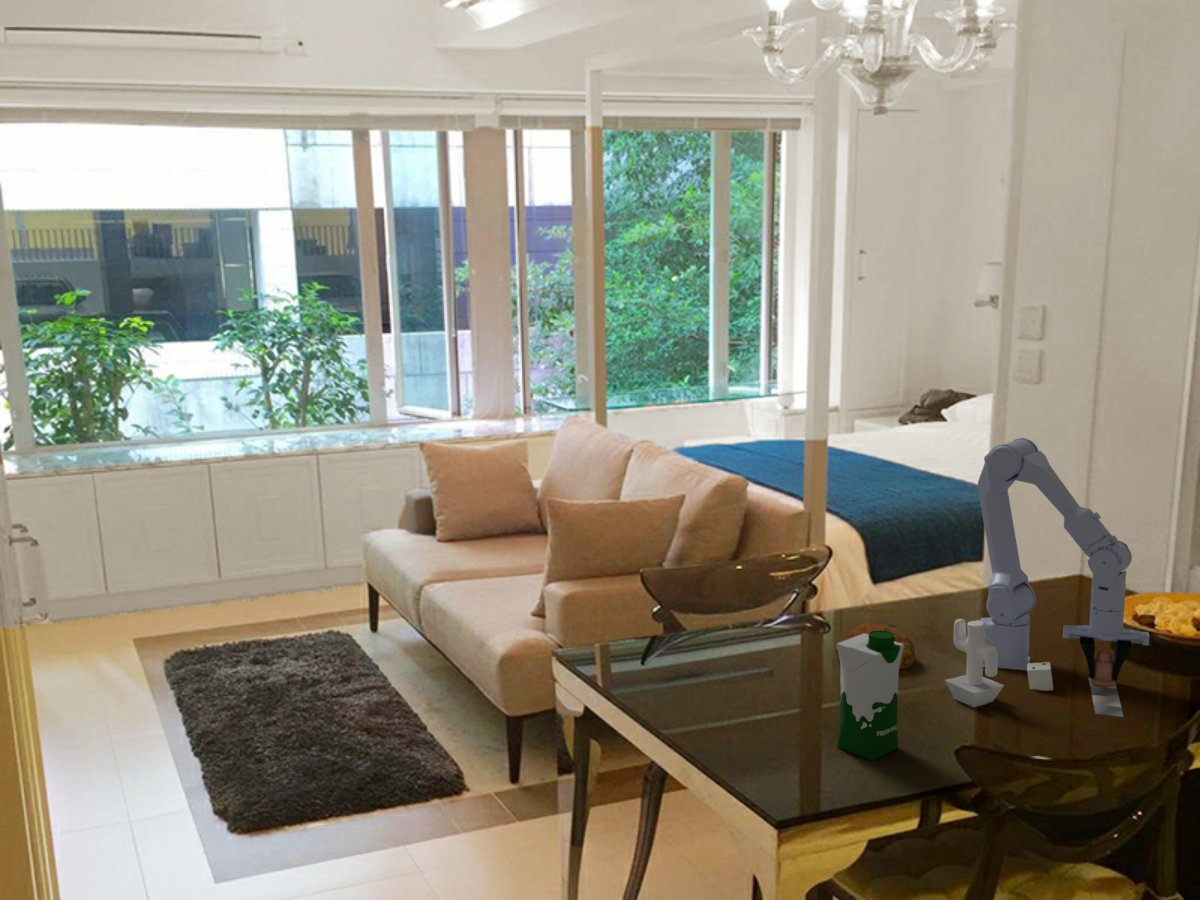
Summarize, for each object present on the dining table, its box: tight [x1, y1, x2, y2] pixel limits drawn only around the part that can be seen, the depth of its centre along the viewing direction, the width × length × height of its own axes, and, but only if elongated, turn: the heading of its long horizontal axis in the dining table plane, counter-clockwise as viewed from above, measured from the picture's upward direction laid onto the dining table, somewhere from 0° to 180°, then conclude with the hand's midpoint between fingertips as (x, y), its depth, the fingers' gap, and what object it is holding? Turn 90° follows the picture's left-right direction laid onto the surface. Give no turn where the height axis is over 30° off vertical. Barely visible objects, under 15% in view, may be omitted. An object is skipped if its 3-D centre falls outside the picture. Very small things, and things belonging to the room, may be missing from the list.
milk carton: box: [836, 630, 904, 761], centre depth 191 cm, size 9×9×20 cm
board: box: [1088, 677, 1124, 718], centre depth 213 cm, size 14×19×1 cm
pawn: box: [1089, 649, 1116, 687], centre depth 217 cm, size 4×4×6 cm
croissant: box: [833, 621, 916, 670], centre depth 232 cm, size 15×16×8 cm
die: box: [1026, 661, 1054, 692], centre depth 216 cm, size 4×4×4 cm
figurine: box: [944, 618, 1005, 708], centre depth 210 cm, size 7×9×15 cm
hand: (1102, 677), depth 217 cm, fingers closed on pawn, 3 cm apart
